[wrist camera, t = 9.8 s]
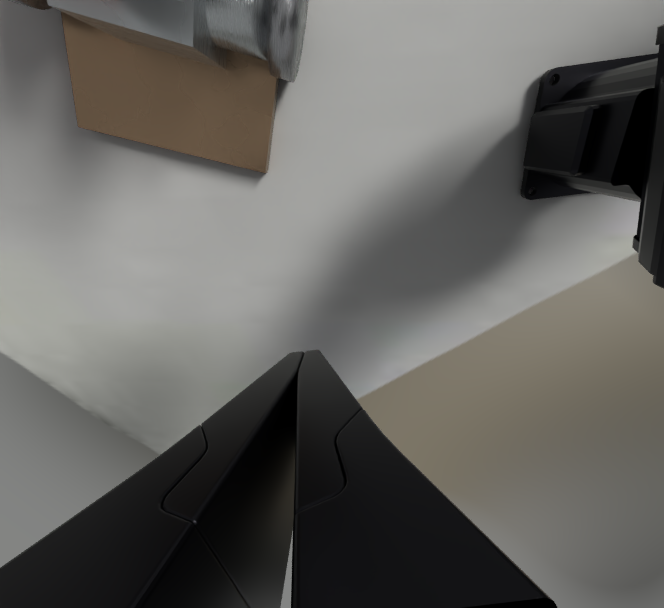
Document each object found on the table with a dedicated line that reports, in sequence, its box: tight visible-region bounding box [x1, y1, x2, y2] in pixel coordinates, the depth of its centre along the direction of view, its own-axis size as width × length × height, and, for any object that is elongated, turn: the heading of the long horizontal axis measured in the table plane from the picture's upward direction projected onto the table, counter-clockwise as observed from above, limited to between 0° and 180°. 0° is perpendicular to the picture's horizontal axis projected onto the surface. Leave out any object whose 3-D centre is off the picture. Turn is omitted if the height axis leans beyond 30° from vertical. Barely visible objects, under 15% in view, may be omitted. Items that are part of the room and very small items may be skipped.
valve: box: [9, 0, 308, 173], centre depth 12 cm, size 12×9×7 cm
